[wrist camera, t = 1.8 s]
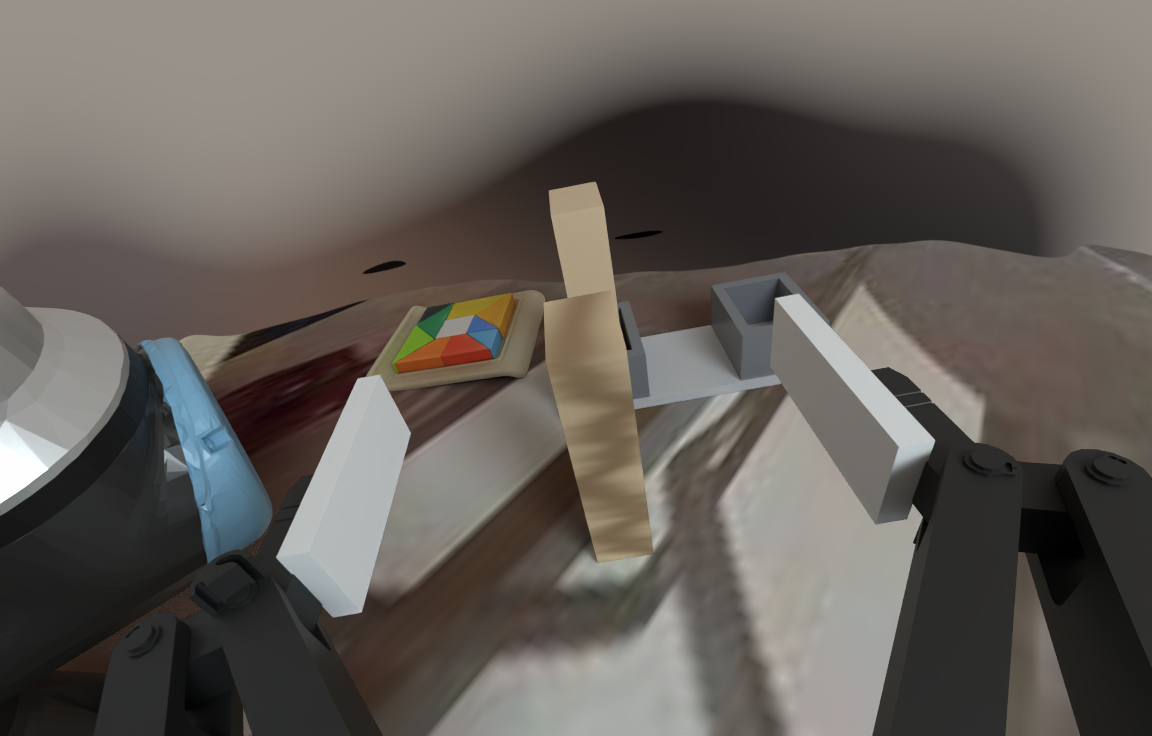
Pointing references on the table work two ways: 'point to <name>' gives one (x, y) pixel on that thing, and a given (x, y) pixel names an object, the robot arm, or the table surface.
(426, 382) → the wooden puzzle
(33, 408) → the robot arm
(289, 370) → the table surface
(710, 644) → the table surface
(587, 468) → the oak slat
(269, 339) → the table surface
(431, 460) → the table surface
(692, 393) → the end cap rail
